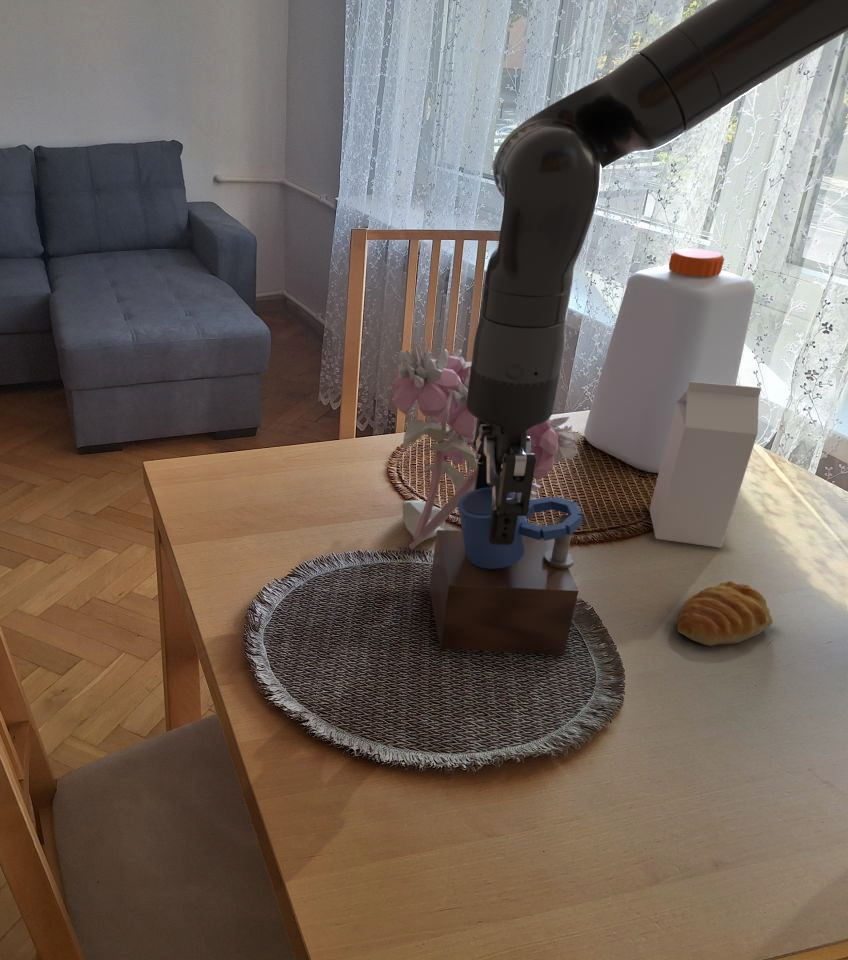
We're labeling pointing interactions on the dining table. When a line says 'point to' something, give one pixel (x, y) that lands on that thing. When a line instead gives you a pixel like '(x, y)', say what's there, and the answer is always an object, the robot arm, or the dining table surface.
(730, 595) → the pastry
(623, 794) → the dining table surface
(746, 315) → the plastic bottle
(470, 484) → the flower
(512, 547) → the blue mug
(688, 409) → the milk carton
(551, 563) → the walnut box
